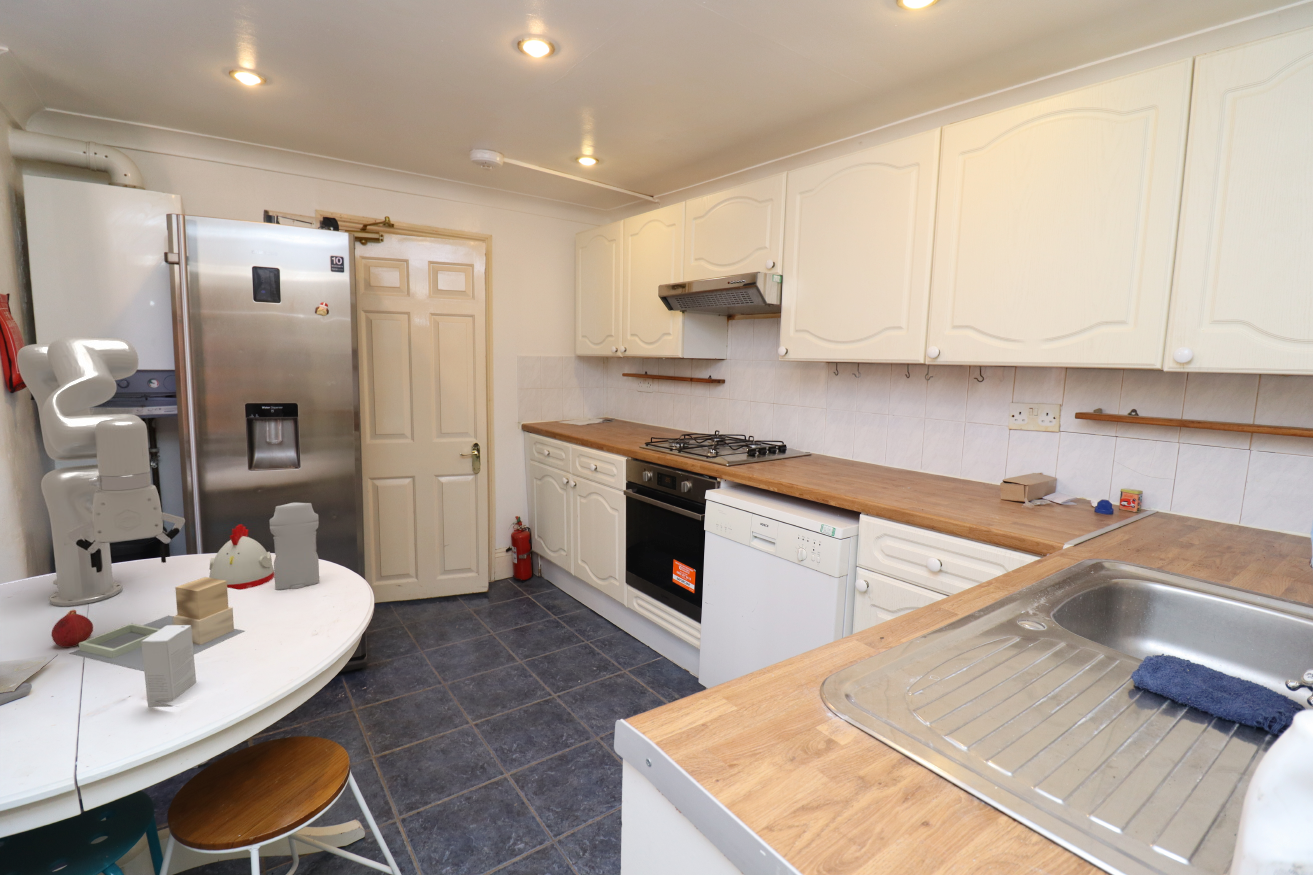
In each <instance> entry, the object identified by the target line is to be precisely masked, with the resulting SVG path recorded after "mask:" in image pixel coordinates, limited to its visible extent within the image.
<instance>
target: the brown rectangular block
mask: <svg viewBox="0 0 1313 875" xmlns="http://www.w3.org/2000/svg"><path fill="white" fill-rule="evenodd" d="M228 607H229V608H228V609H225V610H223V611H220V612H218V613H215V614H213V615H210V616H208V617H205V618H203V619H200V620H198V619H193V618H188V617H183V616H178V615H177V614H175V615H172V616H173V623H174V625H191V629H192V640H193V643H194V644H198V645H202V644H204V643H206V642H209V641H211V640H213V639H215V638H217V637H220V636H222V635H224V634H226V633H229V632H231V631H233V630H234V629H235V624H234V621H235V620H234V609H233V607H232V606H228Z"/></svg>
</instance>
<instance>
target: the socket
mask: <svg viewBox="0 0 1313 875" xmlns="http://www.w3.org/2000/svg"><path fill="white" fill-rule="evenodd" d="M143 625H144V624H137V623H133V622H131V623H128V624H127V625H124V626H121V627H119V628H116V629H113V630H110V631H108V632H104V633H102V634H100V635H97V636H94V637H90V638H88V639H87V640H85V641H83V642H80V643H79V645H78V650H80V651H84V652H89V653H93V654H97V655H101V656H106V657H110V658H115V657H117V656H120V655H122V654H125V653H127V652H130V651H132V650H134V649H137V648H139V647H142V643H141V641H143V640H144V639H146V638H147V637H149V636H151V635H152V634H154V633H156V632H157V631H159V630H160V629H157V628H152V627H147V626H143ZM129 632H135V633H140V634H144V635H147V636H145V637H142V638H140V639H137V640H135V641H132V642H130V643H127V644H125V645H122V646H120V647H117V648H115V649H112V648H108V647H104V646H99V645H98V644H101V643H103V642H106V641H108V640H111V639H114V638H116V637H119V636H121V635H124V634H127V633H129Z"/></svg>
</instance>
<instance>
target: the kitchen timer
mask: <svg viewBox="0 0 1313 875" xmlns="http://www.w3.org/2000/svg"><path fill="white" fill-rule="evenodd" d="M231 530H232V534H231V535H230V534H229V537H230V540H228V541H227V542H225V544H224V545H223V546H222V547H221V548H220V549H219V550H218V552H217V553H216V555H215V557H211V558H210V560H209V561H210V562H209V576H208V578H214V579H220V580H225V581H227V589H232V590H233V589H234V590H238V591H240V590H247V589H251V588H255V587H258V586H261V585H265V584H268V583H269V582H271V581H272V580H274V578H275V577H274V564H273V560H272V554H271V552H270V551H267V550H266V549H265V547H264V546H263V545H262V544H261V543H259V542H258V541H257V540H255V539H254V538H251V537H249V536H248V535H249V529H246V526H244V525H243V524H242V523H241V524H237V525H236V526H235V528H232V529H231Z"/></svg>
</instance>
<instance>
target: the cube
mask: <svg viewBox="0 0 1313 875" xmlns="http://www.w3.org/2000/svg"><path fill="white" fill-rule="evenodd" d="M174 588H175V599H176V600H175V601H176V602H175V603H176V615H178V616H183V617H188V618H193V619H198V620H200V619H203V618H205V617H208V616H210V615H213V614H215V613H218V612H220V611H223V610H225V609H228V608H229V607H230V606H229V593H228V588H227V581H225V580H220V579H214V578H209V576H208V577H207V576H205V577H201V578H198V579H196V580H192V581H190V582H186V583H184V584H181V585H177V586H175V587H174Z"/></svg>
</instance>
